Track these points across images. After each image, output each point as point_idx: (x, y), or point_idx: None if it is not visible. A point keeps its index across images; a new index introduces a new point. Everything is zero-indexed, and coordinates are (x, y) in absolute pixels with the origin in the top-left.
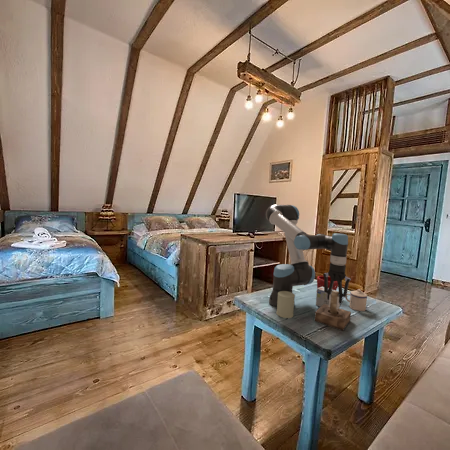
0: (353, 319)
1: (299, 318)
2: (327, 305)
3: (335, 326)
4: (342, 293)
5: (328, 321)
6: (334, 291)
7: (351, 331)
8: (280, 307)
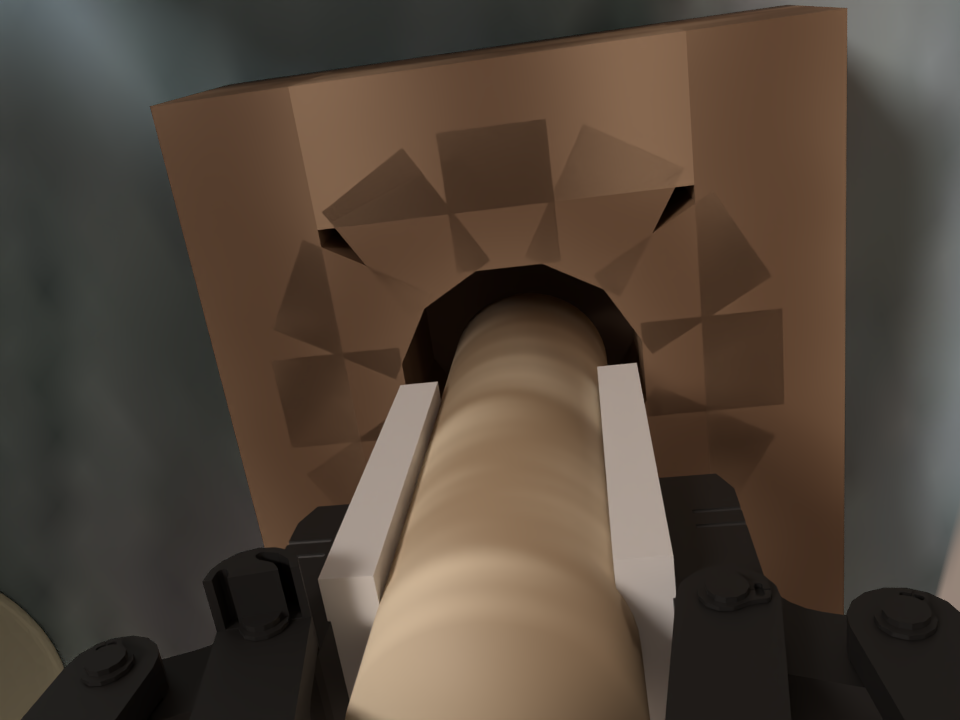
0: None
1: (150, 634)
2: (258, 131)
3: None
4: (785, 669)
5: None
6: (440, 712)
7: (911, 425)
8: None
